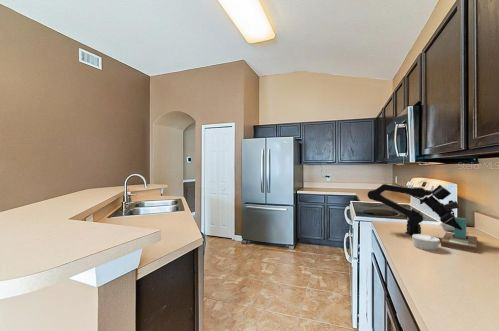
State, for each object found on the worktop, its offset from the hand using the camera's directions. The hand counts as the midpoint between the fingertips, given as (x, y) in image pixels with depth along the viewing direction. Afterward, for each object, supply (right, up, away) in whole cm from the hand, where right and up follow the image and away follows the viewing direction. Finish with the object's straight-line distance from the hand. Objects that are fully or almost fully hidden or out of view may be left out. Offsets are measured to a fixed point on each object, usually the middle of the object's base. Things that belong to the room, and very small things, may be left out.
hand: (461, 227), depth 129 cm
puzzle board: (-4, -8, -4) cm, 9 cm away
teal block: (0, -7, 0) cm, 8 cm away
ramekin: (-26, -8, -8) cm, 28 cm away
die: (+11, -7, +21) cm, 25 cm away
